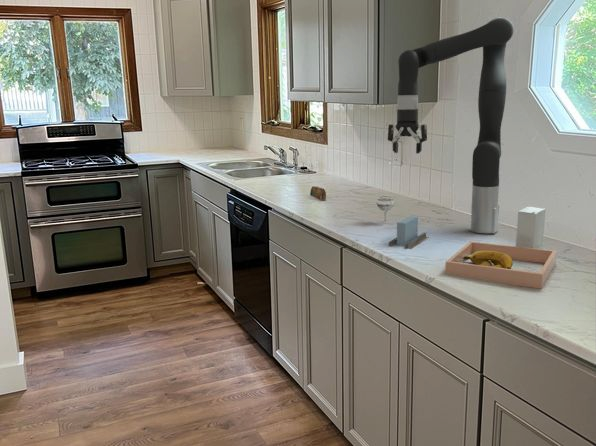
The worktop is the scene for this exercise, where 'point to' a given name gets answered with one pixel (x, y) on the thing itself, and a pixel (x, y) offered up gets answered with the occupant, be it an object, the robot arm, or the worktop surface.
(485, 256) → the banana
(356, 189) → the worktop surface
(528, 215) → the skincare box
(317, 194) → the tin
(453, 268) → the fruit tray rim
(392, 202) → the wineglass
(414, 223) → the door panel
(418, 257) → the worktop surface
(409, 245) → the door track
